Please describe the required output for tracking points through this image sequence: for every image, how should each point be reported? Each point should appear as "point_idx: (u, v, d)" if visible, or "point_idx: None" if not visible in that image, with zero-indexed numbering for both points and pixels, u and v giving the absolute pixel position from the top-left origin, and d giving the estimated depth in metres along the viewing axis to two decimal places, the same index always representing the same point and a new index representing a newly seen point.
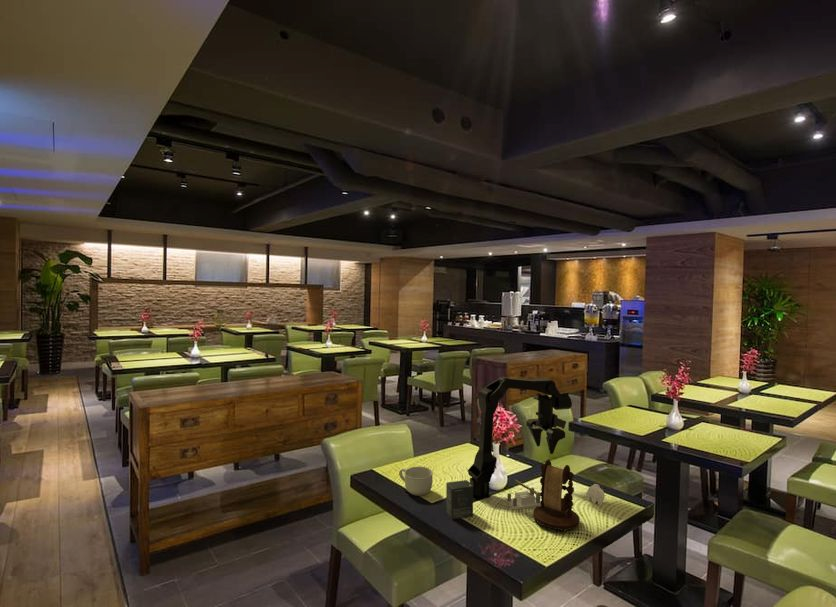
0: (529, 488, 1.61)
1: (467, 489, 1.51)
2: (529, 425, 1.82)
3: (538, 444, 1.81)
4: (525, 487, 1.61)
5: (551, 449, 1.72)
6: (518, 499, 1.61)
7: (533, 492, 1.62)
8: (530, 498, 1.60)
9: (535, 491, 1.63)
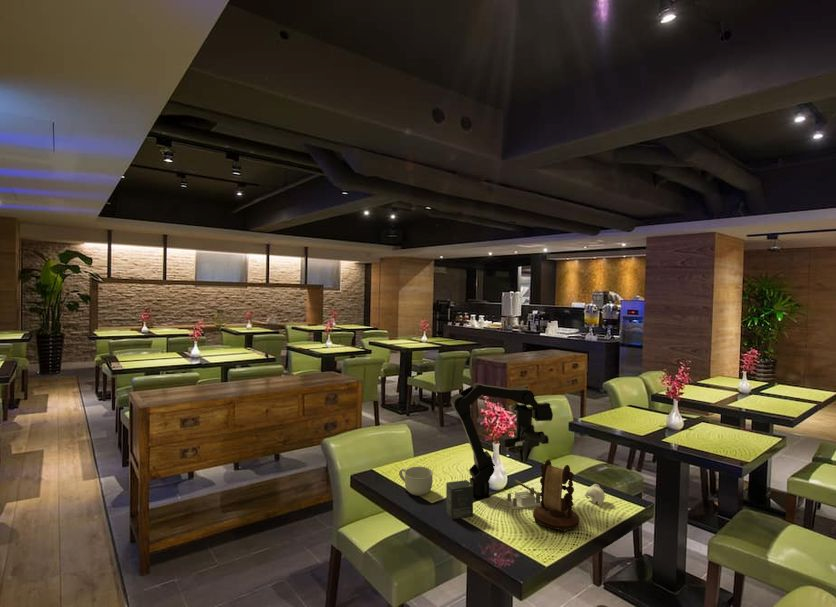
0: (529, 488, 1.61)
1: (467, 489, 1.51)
2: None
3: (524, 459, 1.71)
4: (525, 487, 1.61)
5: (518, 456, 1.71)
6: (518, 499, 1.61)
7: (533, 492, 1.62)
8: (530, 498, 1.60)
9: (535, 491, 1.63)
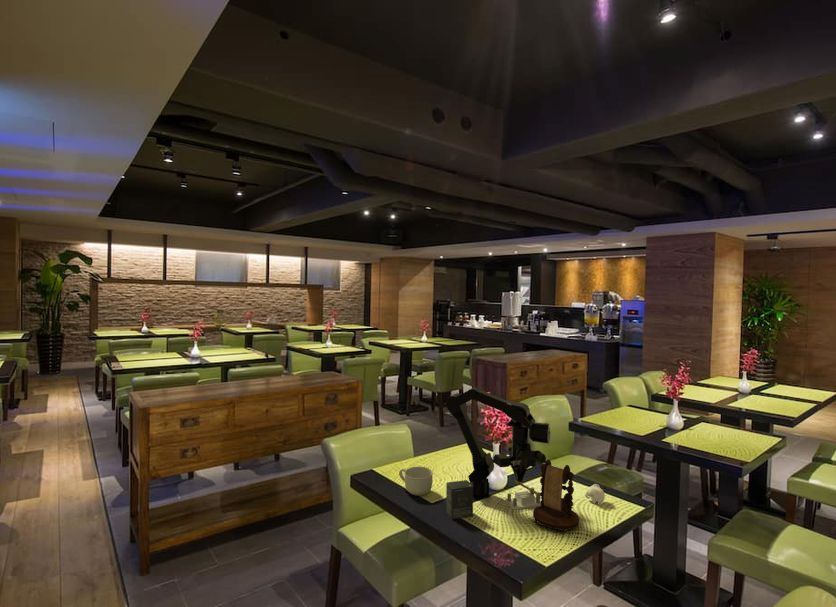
0: (529, 488, 1.61)
1: (467, 489, 1.51)
2: None
3: None
4: (525, 487, 1.61)
5: (515, 476, 1.62)
6: (518, 499, 1.61)
7: (533, 492, 1.62)
8: (530, 498, 1.60)
9: (535, 491, 1.63)
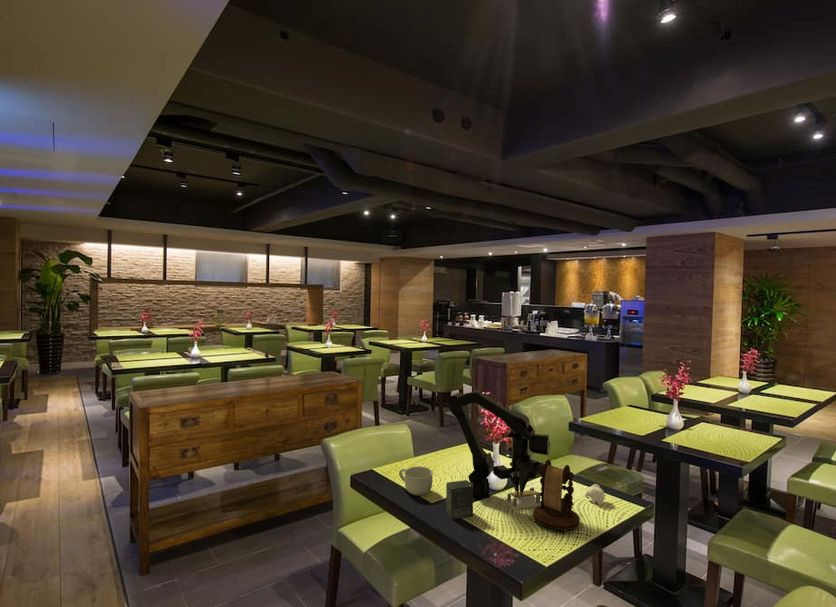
0: (527, 494, 1.61)
1: (467, 489, 1.51)
2: None
3: (520, 491, 1.62)
4: (523, 496, 1.61)
5: (514, 487, 1.62)
6: (518, 499, 1.61)
7: None
8: (530, 498, 1.60)
9: (534, 491, 1.63)
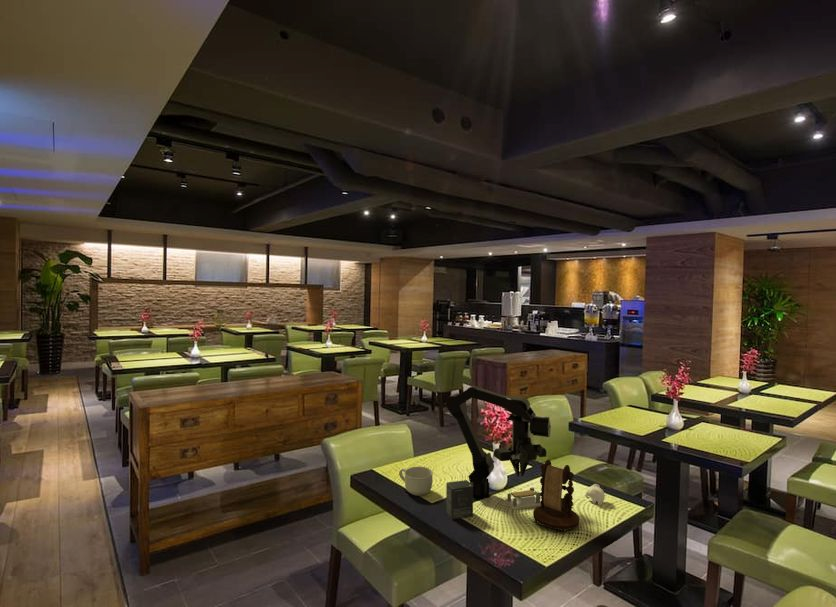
0: (527, 494, 1.61)
1: (467, 489, 1.51)
2: None
3: (521, 473, 1.62)
4: (523, 496, 1.61)
5: (515, 470, 1.62)
6: (518, 499, 1.61)
7: None
8: (530, 498, 1.60)
9: (534, 491, 1.63)
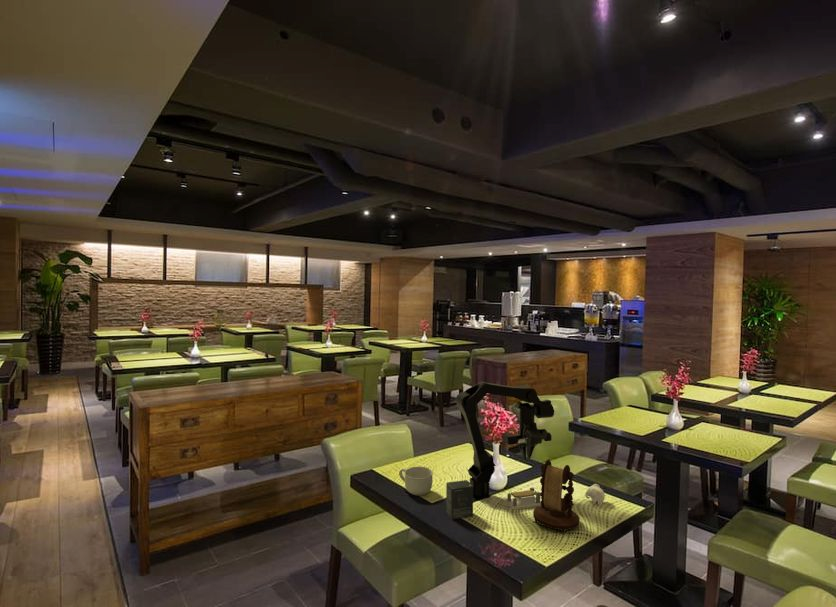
0: (527, 494, 1.61)
1: (467, 489, 1.51)
2: None
3: (528, 456, 1.74)
4: (523, 496, 1.61)
5: (522, 453, 1.74)
6: (518, 499, 1.61)
7: None
8: (530, 498, 1.60)
9: (534, 491, 1.63)
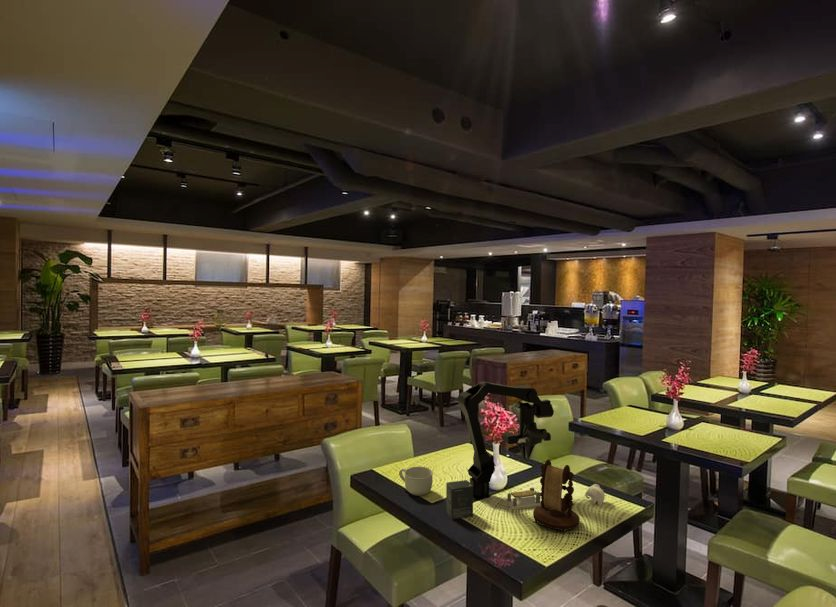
0: (527, 494, 1.61)
1: (467, 489, 1.51)
2: None
3: (527, 456, 1.75)
4: (523, 496, 1.61)
5: (521, 453, 1.74)
6: (518, 499, 1.61)
7: None
8: (530, 498, 1.60)
9: (534, 491, 1.63)
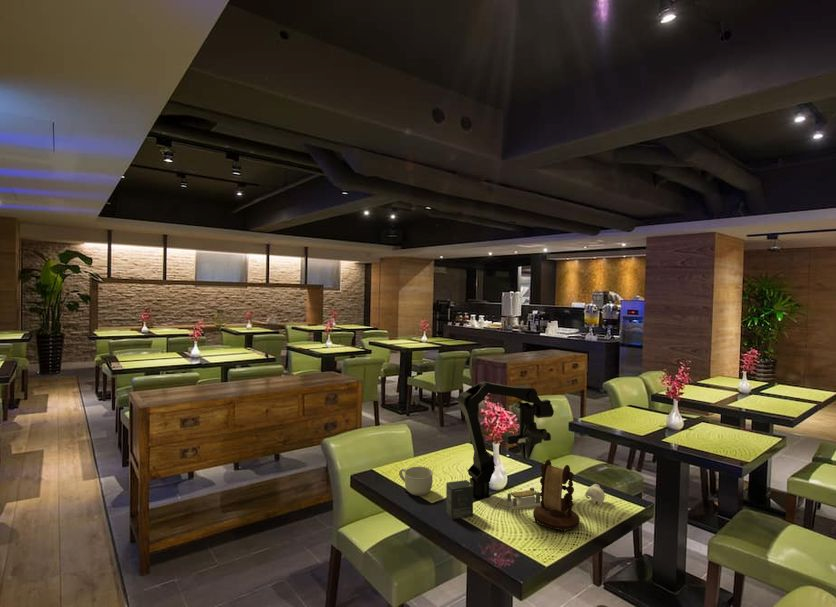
0: (527, 494, 1.61)
1: (467, 489, 1.51)
2: None
3: (527, 456, 1.75)
4: (523, 496, 1.61)
5: (521, 453, 1.74)
6: (518, 499, 1.61)
7: None
8: (530, 498, 1.60)
9: (534, 491, 1.63)
